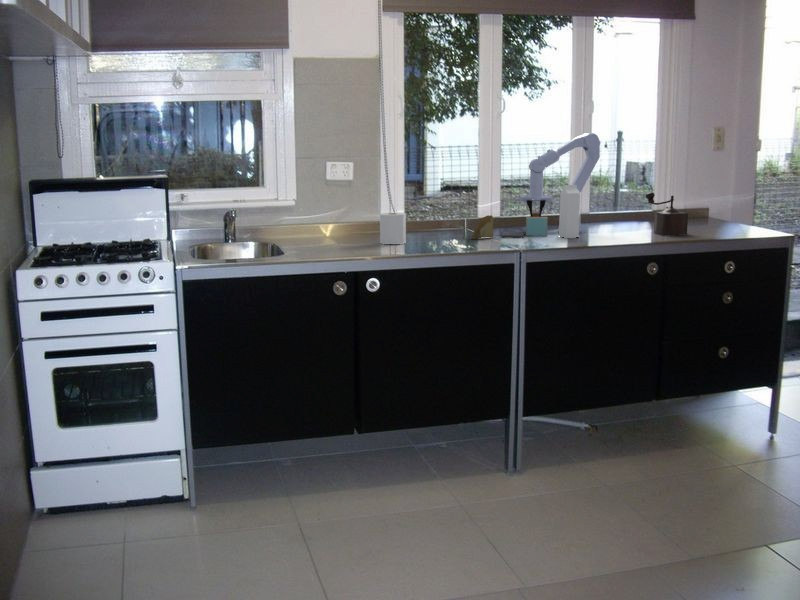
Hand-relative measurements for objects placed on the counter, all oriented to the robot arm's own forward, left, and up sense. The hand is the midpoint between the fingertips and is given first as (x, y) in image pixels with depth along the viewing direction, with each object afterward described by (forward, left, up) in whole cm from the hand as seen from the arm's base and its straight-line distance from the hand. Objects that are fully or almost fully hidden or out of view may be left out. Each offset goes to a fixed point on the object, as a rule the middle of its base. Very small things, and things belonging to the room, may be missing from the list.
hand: (535, 217), depth 384 cm
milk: (-14, +18, -7) cm, 24 cm away
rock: (+22, +24, -7) cm, 33 cm away
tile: (-1, +13, -6) cm, 14 cm away
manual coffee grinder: (-55, +3, -7) cm, 55 cm away
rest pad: (+9, +15, -6) cm, 19 cm away
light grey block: (+57, +43, -7) cm, 72 cm away
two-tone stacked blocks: (0, +4, -3) cm, 5 cm away
